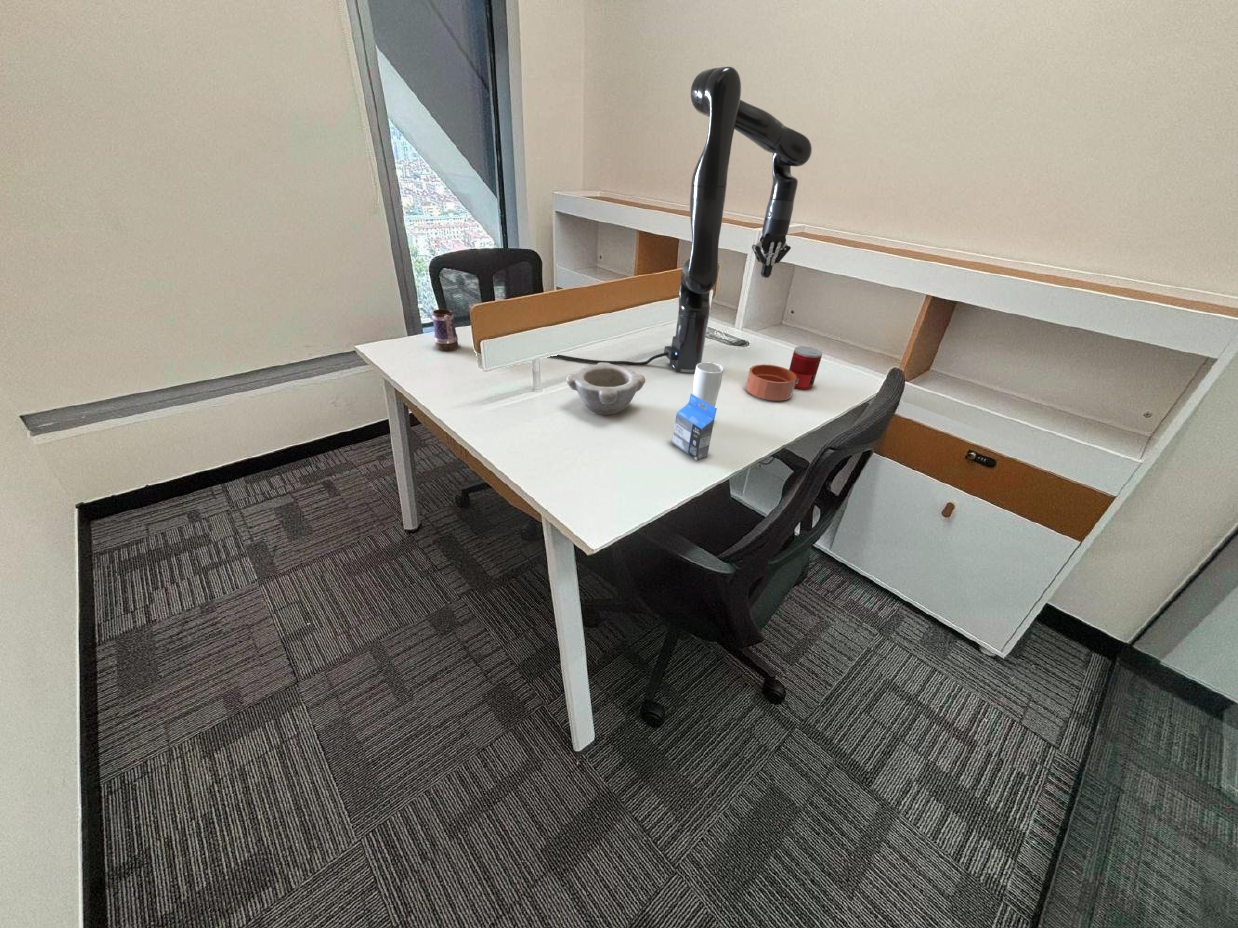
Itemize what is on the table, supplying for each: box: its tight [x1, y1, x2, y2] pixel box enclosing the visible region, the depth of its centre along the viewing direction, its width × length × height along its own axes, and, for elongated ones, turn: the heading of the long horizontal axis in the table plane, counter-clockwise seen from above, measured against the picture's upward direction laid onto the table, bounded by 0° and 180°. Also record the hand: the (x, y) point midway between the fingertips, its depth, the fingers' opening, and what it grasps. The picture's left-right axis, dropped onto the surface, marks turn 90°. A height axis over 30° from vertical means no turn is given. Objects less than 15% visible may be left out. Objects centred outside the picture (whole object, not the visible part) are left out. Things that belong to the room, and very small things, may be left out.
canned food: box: [788, 345, 823, 391], centre depth 150 cm, size 8×8×11 cm
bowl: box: [745, 363, 797, 402], centre depth 145 cm, size 13×13×6 cm
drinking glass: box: [692, 361, 724, 410], centre depth 124 cm, size 7×7×15 cm
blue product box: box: [671, 393, 718, 461], centre depth 113 cm, size 9×4×12 cm, turn 35°
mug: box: [431, 308, 459, 352], centre depth 156 cm, size 10×7×12 cm
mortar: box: [565, 362, 646, 416], centre depth 130 cm, size 17×17×9 cm
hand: (764, 277), depth 157 cm, fingers closed
